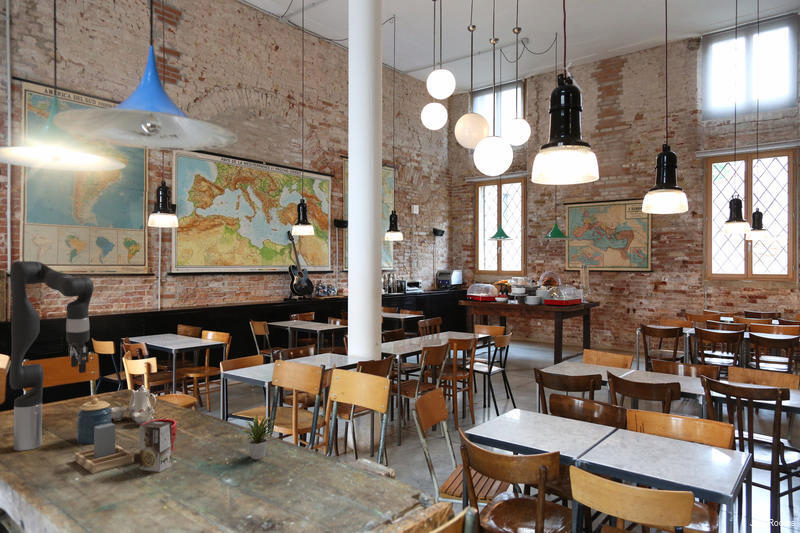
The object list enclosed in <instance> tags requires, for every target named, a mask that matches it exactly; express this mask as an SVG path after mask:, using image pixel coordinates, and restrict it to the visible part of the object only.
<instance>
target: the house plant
mask: <svg viewBox="0 0 800 533" xmlns="http://www.w3.org/2000/svg"><path fill="white" fill-rule="evenodd" d="M270 419H271V416H269V417H267V414H265V415H264V417H263V418H262V419H261V421H260V422H259V419H258V414H256V415H254V416H253V420H251V422H252V424H253V425H252V424H251V423H250V421H248V420H245V422H246V423H247V424H245V427H247V428H248V429H249V430H250V431H251V432H250V431H249V430H245V429H243V430H242V431H241V432H243V433H247V434H249V435H248V439H247V441H248V446H249V448H248V449H249V452H250V458H251V459H252V460H261V459H264V458H265V456H266V450H267V446H268V445H267V444H268V439H267V438H265V437H266V436H267V437H268V438H270V434H272V433H275V432H274V428H269V427H272V426H274V425H277V423H274V422H275V421H277V419H275V420H272V421H269V420H270ZM268 421H269V422H268Z"/></svg>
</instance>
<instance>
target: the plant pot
mask: <svg viewBox="0 0 800 533" xmlns="http://www.w3.org/2000/svg"><path fill="white" fill-rule="evenodd" d="M150 421H158V422H169V423H172V424H171V453H172V452H174V450H175V445H174V443H175V440H176V437H177V431H178V429H177V426H178V425H177V424H178V423H177V421H176V420H174V419H170V418H169V419H168V418H157V419H152V420H150ZM150 421H148V422H150ZM148 422H145V423H143V424H142V425H144V424H146V423H148Z"/></svg>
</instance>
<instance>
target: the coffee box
mask: <svg viewBox="0 0 800 533" xmlns="http://www.w3.org/2000/svg"><path fill="white" fill-rule="evenodd" d="M171 424H172V423H169V422H158V421H152V420H150V422H148V423H146V424H144V425H141V426H140V425H139V470H141V471H149V472H157V473H160V472H163V471H165V470H166V469H168V468H171V467H172V452H171Z"/></svg>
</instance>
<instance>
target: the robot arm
mask: <svg viewBox="0 0 800 533" xmlns="http://www.w3.org/2000/svg"><path fill="white" fill-rule="evenodd" d="M9 271H10V272H9V277H10V278H9V279H10V289H11V290H10V292H11V300H12V301H11V322H10V323H11V333H10V334H11V355H10V356H11V358H10V365H9V366H10V367H9V385H10V388H11V389H12V390H15V391H16V390H23V389H29V388H30V389H29V391H27V392H26V393H25V394H22V395H20V396H18V397H16V398H14V402H13V404H14V405H13V450H14V451H18V452H19V451H29V450H33V449H37V448H40V447H41V446H42V444H43V393H44V392H43V391H44V390H43V389H44V374H45V373H44V368H43V365H42V364H40V363H35V364H34V363H33V364H24V365H22V364H23V361H24V360H23V359H24V357H25V354H26V353H27V352H28V350H29V349H30V347H31V346H32V345H33V343H34V342H35V341H36V339H37V338H38V335H39V334H40V330H41V329H40V327H41V326H40V324H41V320H40V314H39V312H38V310H37V309H36V308H35V307H34V305H33V304H32V302H31V301H30V300H29V298H28V295H27V291H26V290H27V289H26V285H36V284H45V285H46V287H48V288H49V289H51V290H54V291H59V293H60V294H62V295H63V297H64V296H65V297H69V298H73V297H77V298H76V299H75V300H73V301H71V302H69V303H67V304H66V322H65V332H66V333H65V334H66V335H65V339H66V342H67V343H68V347H67V348H68V352H67V353H68V355H69V357H70V367H72V368H76V367H78V373H79V374H85V373H86V372H87V363H89V361H90V360H89V347H88V346H86V344H85V343H87V342H88V341H90V319H89V306H90V302H91V299H92V296H93V293H94V290H95V287H94V282H93V279H91V278H90V277H88V276H78V277H73V276H72V275H70V274H68V273H64V272H62V271H57V270H55V269H54V268H51V267H49V266H48V265H46V264H44V263H42V262H40V261H33V260H32V261H30V260H29V261H25V260H24V261H20V260H19V261H17V260H16V261H14V262H13V263H12V264H11V266H10V270H9Z"/></svg>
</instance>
